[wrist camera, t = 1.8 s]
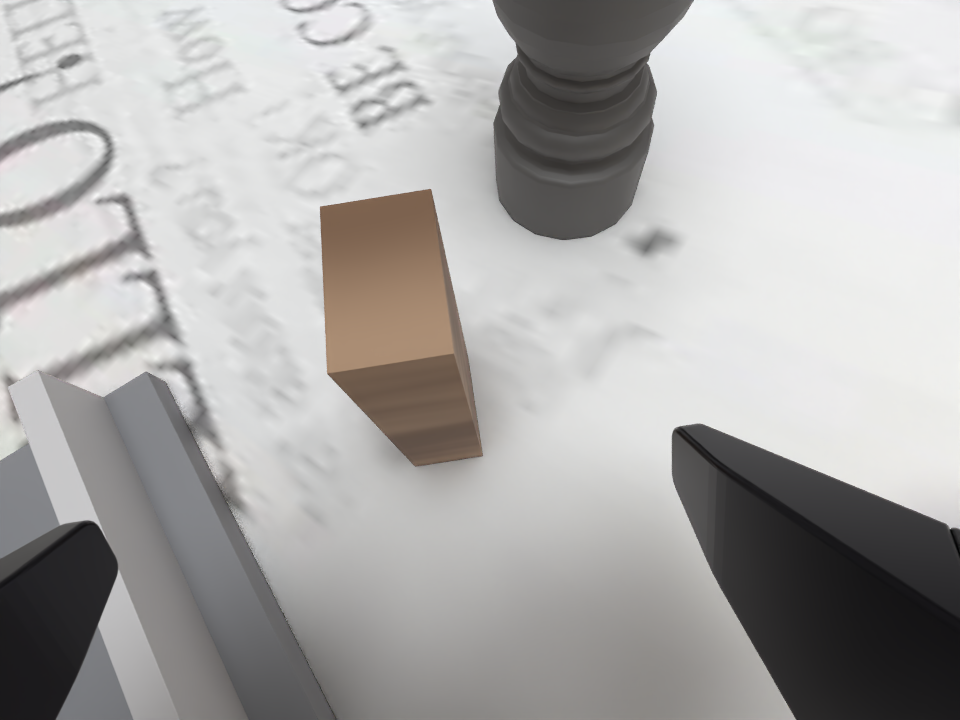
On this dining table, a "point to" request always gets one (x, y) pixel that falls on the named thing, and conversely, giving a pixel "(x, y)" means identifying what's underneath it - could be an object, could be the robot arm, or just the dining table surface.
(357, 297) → the brown wooden block
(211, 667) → the grey long channel piece
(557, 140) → the candle holder
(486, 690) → the dining table surface
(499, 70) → the dining table surface
